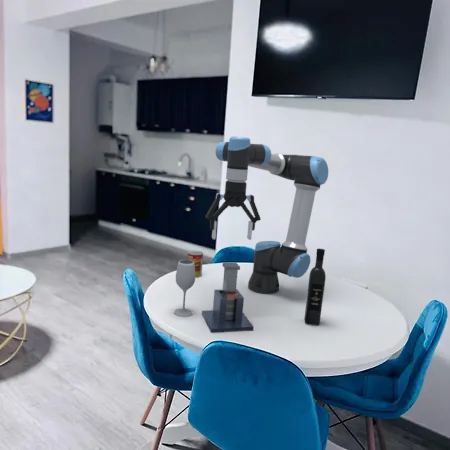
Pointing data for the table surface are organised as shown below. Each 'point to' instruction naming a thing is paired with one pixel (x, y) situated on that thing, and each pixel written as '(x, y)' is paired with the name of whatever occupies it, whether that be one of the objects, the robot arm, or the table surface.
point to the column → (230, 287)
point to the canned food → (196, 261)
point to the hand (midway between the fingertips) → (231, 238)
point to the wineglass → (185, 282)
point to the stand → (218, 314)
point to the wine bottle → (315, 291)
